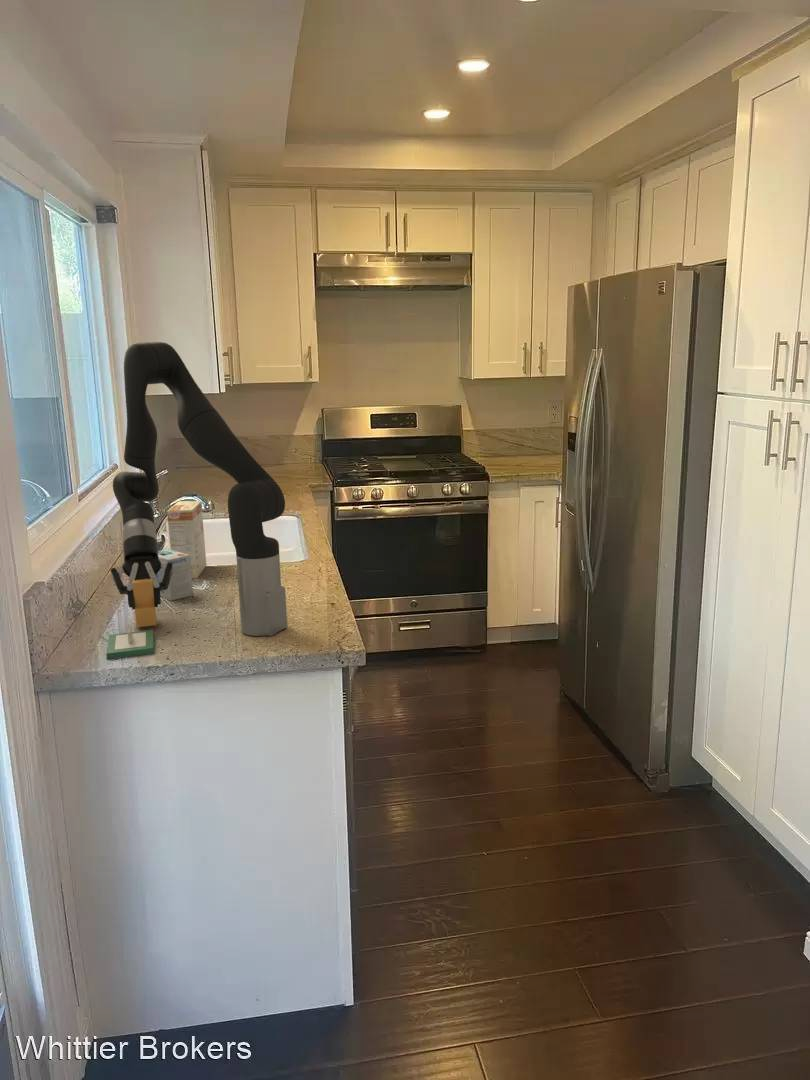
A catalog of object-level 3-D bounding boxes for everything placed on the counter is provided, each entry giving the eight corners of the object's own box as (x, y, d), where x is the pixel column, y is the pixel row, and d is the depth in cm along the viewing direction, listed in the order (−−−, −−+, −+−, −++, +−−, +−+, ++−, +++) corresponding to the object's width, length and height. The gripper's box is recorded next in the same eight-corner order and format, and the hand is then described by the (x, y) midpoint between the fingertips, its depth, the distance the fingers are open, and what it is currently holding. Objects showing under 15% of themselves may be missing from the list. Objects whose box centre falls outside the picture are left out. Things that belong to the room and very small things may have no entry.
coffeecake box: (183, 566, 228) (177, 501, 224) (207, 565, 229) (202, 500, 224) (171, 579, 214) (165, 510, 209) (197, 578, 214) (192, 509, 210)
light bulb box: (149, 593, 201) (145, 553, 199) (172, 587, 206) (169, 548, 203) (171, 601, 194) (167, 559, 192) (194, 595, 199) (191, 554, 196)
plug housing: (137, 613, 180) (133, 574, 178) (156, 611, 181) (152, 572, 179) (136, 627, 170) (132, 585, 168) (156, 624, 172) (152, 583, 170)
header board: (109, 639, 166) (108, 623, 166) (153, 634, 169) (151, 618, 168) (107, 659, 155) (105, 641, 155) (153, 653, 158) (152, 635, 157)
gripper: (105, 536, 175) (109, 602, 167) (171, 530, 179) (177, 594, 171) (109, 554, 181) (112, 618, 173) (172, 548, 186) (178, 610, 177)
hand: (145, 606), depth 172 cm, fingers closed on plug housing, 4 cm apart
